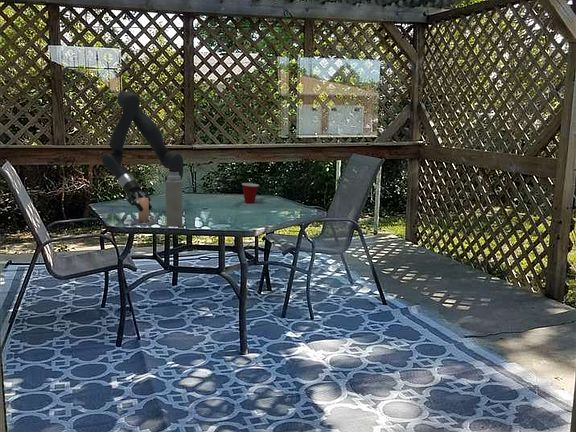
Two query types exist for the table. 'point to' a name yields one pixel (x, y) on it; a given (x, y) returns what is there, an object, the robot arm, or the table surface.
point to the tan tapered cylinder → (144, 214)
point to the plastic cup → (249, 192)
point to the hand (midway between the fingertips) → (146, 209)
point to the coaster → (143, 223)
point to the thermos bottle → (173, 199)
